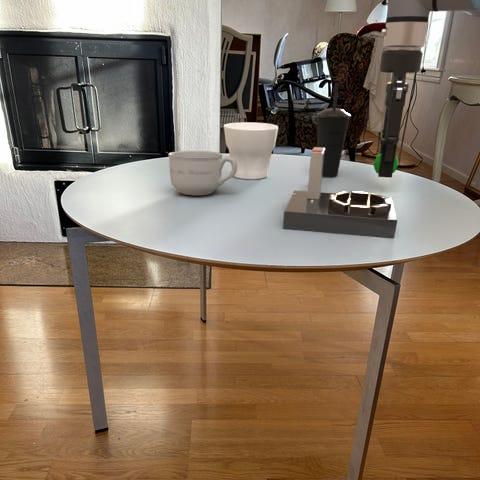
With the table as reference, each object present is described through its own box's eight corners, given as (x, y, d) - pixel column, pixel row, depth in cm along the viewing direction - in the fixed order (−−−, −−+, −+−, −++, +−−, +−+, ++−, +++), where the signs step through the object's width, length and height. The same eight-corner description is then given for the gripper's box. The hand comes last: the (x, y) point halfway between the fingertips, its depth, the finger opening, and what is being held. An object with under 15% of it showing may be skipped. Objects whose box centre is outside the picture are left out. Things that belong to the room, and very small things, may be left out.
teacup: (160, 195, 97) (157, 153, 93) (187, 183, 106) (186, 145, 102) (221, 204, 92) (221, 161, 88) (244, 192, 101) (245, 152, 97)
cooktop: (388, 211, 90) (391, 194, 89) (394, 238, 77) (397, 219, 76) (290, 203, 94) (291, 187, 92) (279, 228, 80) (280, 209, 79)
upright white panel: (309, 191, 90) (313, 145, 86) (320, 192, 89) (325, 146, 85) (307, 198, 86) (311, 150, 82) (318, 199, 85) (323, 151, 81)
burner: (387, 202, 84) (389, 193, 84) (391, 219, 76) (392, 209, 75) (330, 198, 86) (331, 189, 85) (327, 214, 78) (328, 204, 77)
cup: (212, 176, 113) (212, 125, 107) (242, 167, 122) (243, 120, 116) (258, 184, 107) (259, 131, 101) (285, 174, 116) (288, 125, 110)
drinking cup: (339, 171, 120) (349, 82, 110) (346, 178, 113) (358, 84, 103) (308, 171, 119) (316, 81, 110) (314, 178, 113) (323, 83, 103)
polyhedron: (375, 177, 101) (378, 154, 98) (369, 172, 105) (372, 149, 103) (399, 178, 101) (403, 154, 99) (392, 173, 105) (396, 150, 103)
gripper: (380, 49, 100) (365, 165, 111) (384, 48, 85) (367, 182, 96) (418, 50, 99) (399, 166, 110) (429, 48, 83) (406, 184, 94)
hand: (384, 173), depth 103 cm, fingers closed on polyhedron, 5 cm apart
